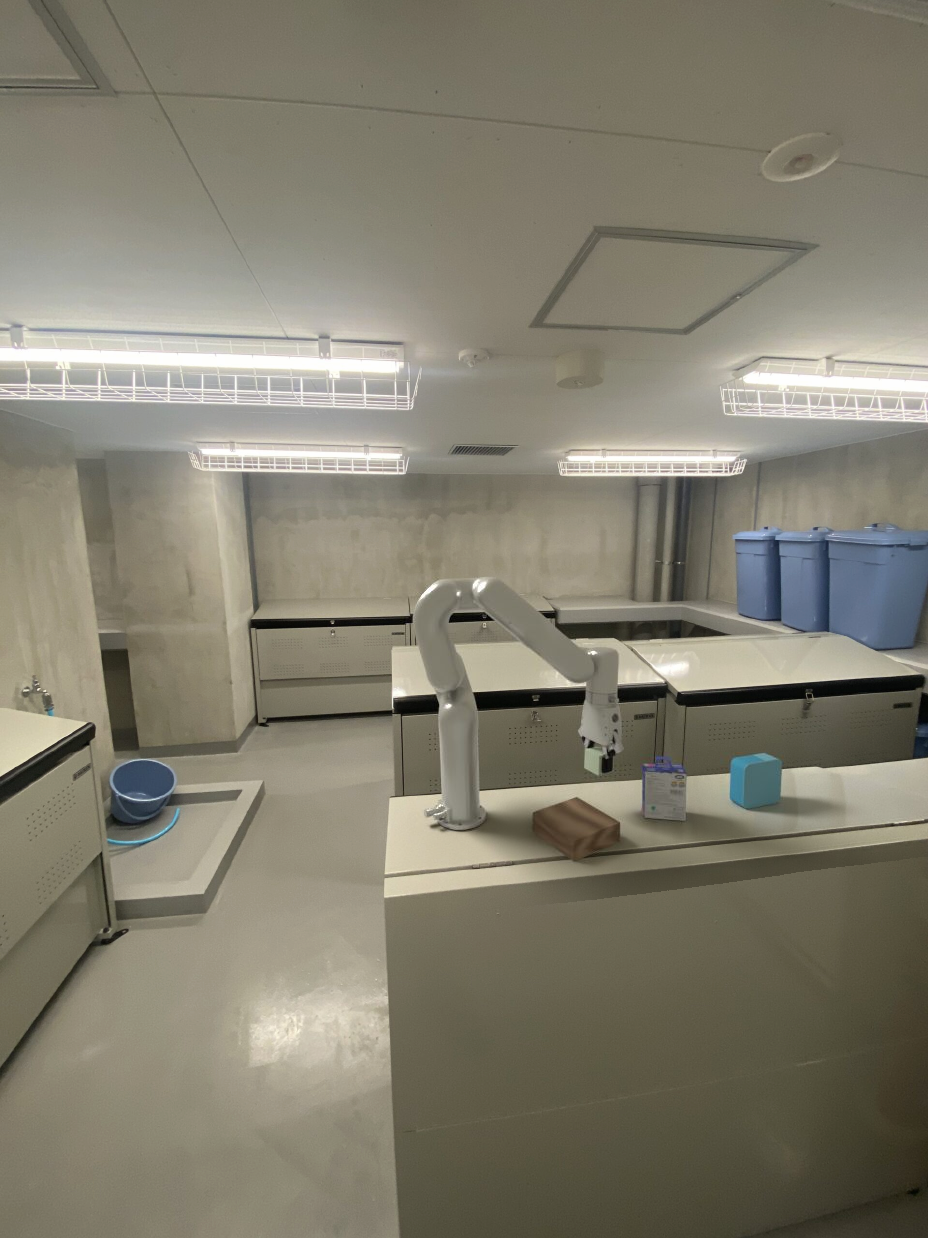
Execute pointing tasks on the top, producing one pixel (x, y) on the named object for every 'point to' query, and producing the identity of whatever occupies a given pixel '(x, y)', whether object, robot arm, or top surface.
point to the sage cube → (594, 760)
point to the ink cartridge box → (664, 790)
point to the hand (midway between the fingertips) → (598, 767)
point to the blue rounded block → (755, 780)
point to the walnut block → (576, 828)
